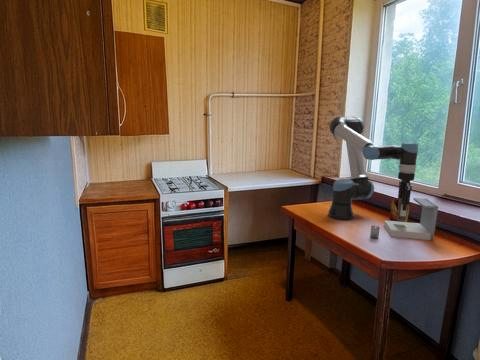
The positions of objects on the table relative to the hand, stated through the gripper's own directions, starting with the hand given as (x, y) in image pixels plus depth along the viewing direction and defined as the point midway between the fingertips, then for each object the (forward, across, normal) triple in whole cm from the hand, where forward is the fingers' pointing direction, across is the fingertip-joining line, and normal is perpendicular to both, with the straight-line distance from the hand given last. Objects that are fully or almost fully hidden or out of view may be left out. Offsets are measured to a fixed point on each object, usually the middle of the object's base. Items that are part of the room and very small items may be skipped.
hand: (401, 214), depth 161 cm
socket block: (+10, 0, +4) cm, 11 cm away
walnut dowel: (+3, 0, 0) cm, 3 cm away
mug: (+10, -20, +6) cm, 23 cm away
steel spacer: (+10, +12, -15) cm, 22 cm away
